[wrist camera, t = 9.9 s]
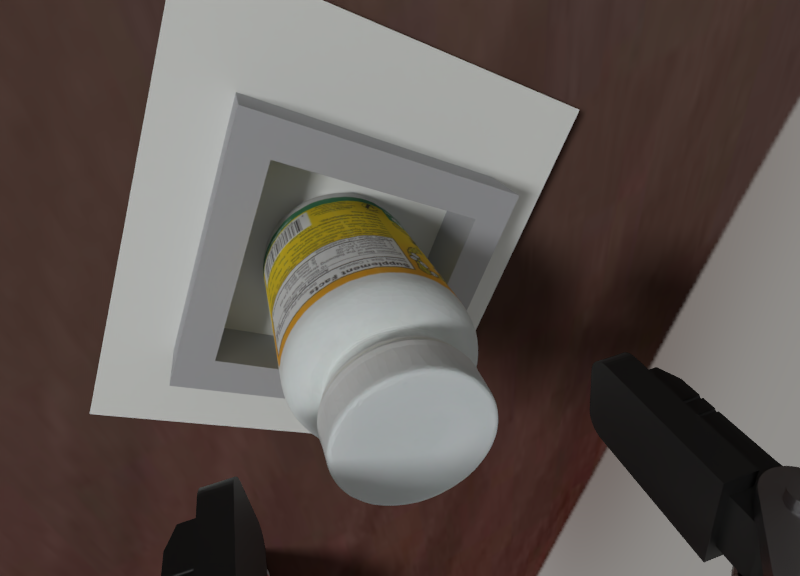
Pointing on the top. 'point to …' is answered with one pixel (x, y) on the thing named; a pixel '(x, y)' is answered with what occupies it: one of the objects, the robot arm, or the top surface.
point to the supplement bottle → (375, 352)
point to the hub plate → (299, 188)
